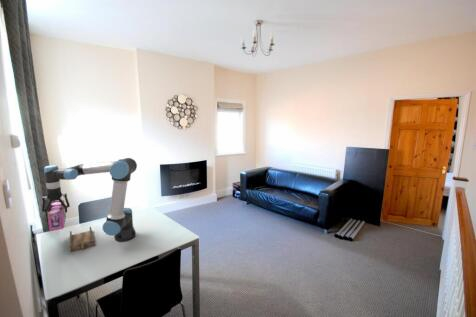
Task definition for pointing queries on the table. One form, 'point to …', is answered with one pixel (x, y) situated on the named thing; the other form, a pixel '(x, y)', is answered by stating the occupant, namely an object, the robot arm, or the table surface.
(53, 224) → the gum box
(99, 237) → the table surface
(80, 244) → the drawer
